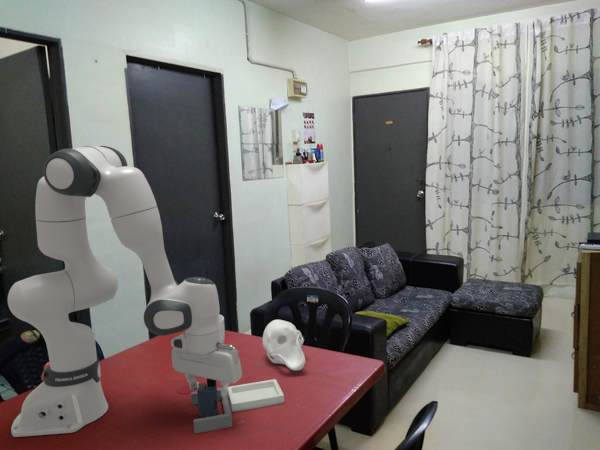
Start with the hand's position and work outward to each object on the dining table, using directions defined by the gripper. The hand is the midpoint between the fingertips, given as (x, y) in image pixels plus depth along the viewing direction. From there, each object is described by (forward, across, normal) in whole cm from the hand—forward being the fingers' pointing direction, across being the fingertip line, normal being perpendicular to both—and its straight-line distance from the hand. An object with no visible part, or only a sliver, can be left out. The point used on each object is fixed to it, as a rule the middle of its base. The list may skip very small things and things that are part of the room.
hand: (208, 392), depth 117 cm
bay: (+6, +1, 0) cm, 7 cm away
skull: (+7, -2, -35) cm, 36 cm away
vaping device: (+7, +1, 0) cm, 7 cm away
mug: (+6, +26, -30) cm, 40 cm away
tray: (+6, -6, -12) cm, 15 cm away
